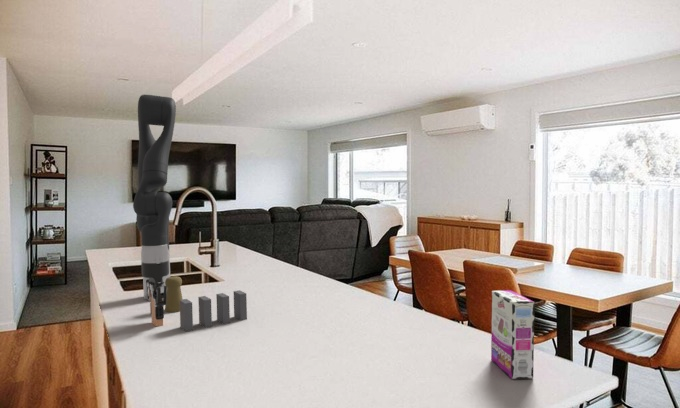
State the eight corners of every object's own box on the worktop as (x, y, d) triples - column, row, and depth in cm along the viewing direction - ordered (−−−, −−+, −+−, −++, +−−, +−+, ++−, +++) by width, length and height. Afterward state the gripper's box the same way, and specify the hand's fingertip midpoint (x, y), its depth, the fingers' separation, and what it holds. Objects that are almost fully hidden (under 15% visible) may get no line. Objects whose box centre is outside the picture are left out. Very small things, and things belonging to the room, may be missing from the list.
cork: (177, 313, 149) (176, 279, 149) (160, 312, 151) (159, 278, 150) (187, 307, 155) (186, 275, 155) (171, 307, 156) (170, 274, 156)
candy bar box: (535, 379, 97) (536, 301, 96) (512, 380, 96) (512, 302, 96) (511, 358, 108) (511, 288, 107) (490, 359, 108) (490, 289, 107)
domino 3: (217, 320, 141) (216, 294, 141) (223, 318, 142) (222, 293, 142) (223, 324, 137) (222, 297, 137) (229, 322, 138) (229, 296, 138)
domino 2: (199, 323, 138) (198, 296, 138) (205, 322, 139) (205, 295, 139) (205, 327, 134) (204, 300, 134) (211, 326, 135) (211, 299, 135)
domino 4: (234, 316, 144) (233, 291, 144) (240, 315, 146) (239, 290, 145) (240, 320, 140) (240, 294, 140) (247, 319, 142) (246, 293, 141)
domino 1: (180, 327, 135) (179, 299, 134) (187, 325, 136) (186, 298, 136) (185, 331, 131) (185, 303, 130) (192, 330, 132) (192, 302, 131)
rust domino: (151, 322, 140) (150, 296, 139) (158, 321, 141) (157, 295, 140) (156, 326, 136) (155, 299, 135) (163, 325, 137) (162, 298, 136)
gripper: (136, 258, 141) (138, 313, 142) (147, 264, 129) (150, 325, 130) (161, 255, 145) (163, 309, 146) (175, 261, 134) (177, 320, 134)
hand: (157, 316), depth 138 cm, fingers closed on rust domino, 5 cm apart
